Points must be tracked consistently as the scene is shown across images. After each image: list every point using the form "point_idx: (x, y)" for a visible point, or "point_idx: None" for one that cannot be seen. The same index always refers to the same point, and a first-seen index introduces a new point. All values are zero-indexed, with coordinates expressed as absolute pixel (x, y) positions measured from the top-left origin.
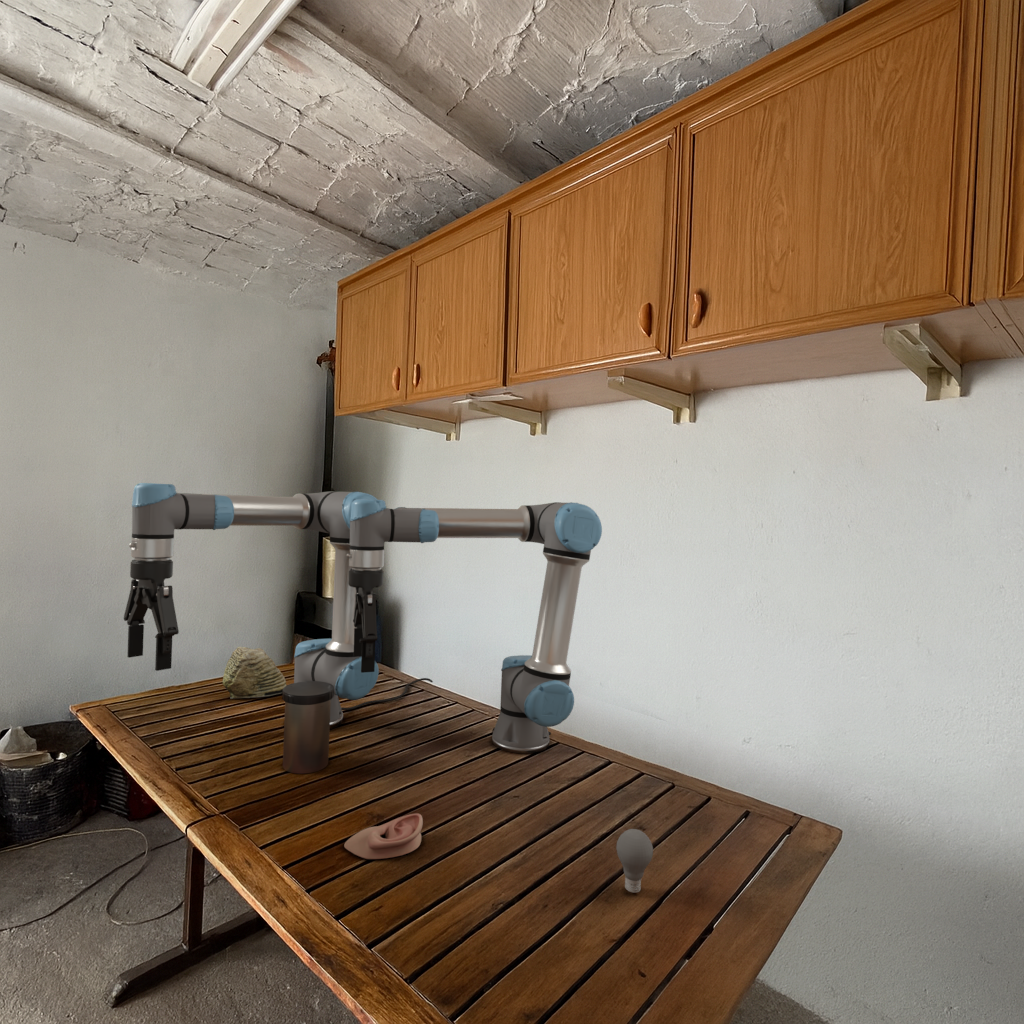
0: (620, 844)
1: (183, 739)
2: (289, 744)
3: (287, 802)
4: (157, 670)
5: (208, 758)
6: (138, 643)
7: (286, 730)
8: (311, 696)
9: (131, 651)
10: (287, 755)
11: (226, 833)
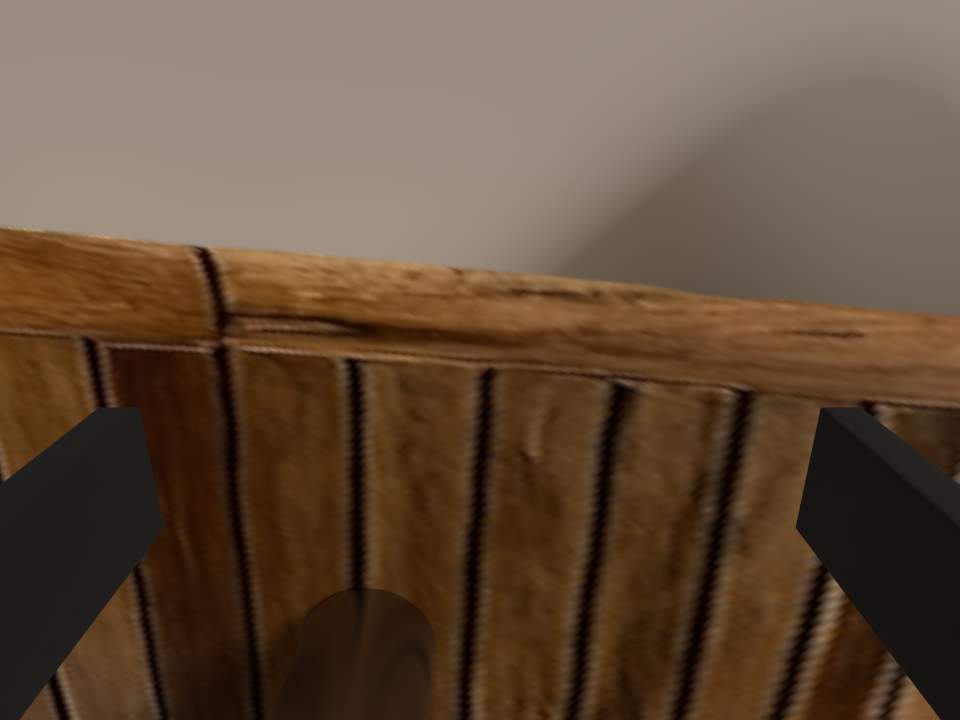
0: None
1: None
2: (336, 655)
3: (168, 497)
4: (99, 414)
5: (626, 487)
6: (881, 580)
7: (347, 691)
8: None
9: (848, 461)
10: (351, 624)
11: (87, 303)
